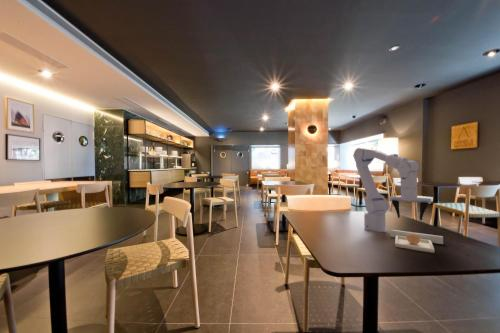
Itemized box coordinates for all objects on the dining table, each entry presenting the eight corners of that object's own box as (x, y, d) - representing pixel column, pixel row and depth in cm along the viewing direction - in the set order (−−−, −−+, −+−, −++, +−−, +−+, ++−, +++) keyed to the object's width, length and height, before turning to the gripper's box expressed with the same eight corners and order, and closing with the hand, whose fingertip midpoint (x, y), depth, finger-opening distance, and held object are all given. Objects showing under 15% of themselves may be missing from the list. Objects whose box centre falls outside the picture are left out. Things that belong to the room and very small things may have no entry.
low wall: (390, 236, 96) (390, 230, 96) (390, 235, 97) (390, 229, 97) (443, 244, 85) (443, 237, 85) (442, 243, 86) (442, 236, 86)
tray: (395, 246, 84) (395, 243, 84) (395, 238, 94) (395, 235, 94) (434, 253, 77) (434, 249, 77) (430, 243, 87) (430, 240, 87)
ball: (406, 244, 85) (406, 234, 85) (406, 241, 88) (406, 231, 88) (420, 246, 82) (420, 235, 82) (419, 243, 86) (419, 232, 86)
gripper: (388, 187, 92) (389, 218, 92) (431, 189, 83) (432, 223, 83) (389, 186, 98) (390, 215, 98) (429, 187, 89) (430, 219, 89)
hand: (409, 218), depth 91 cm, fingers open, 7 cm apart
